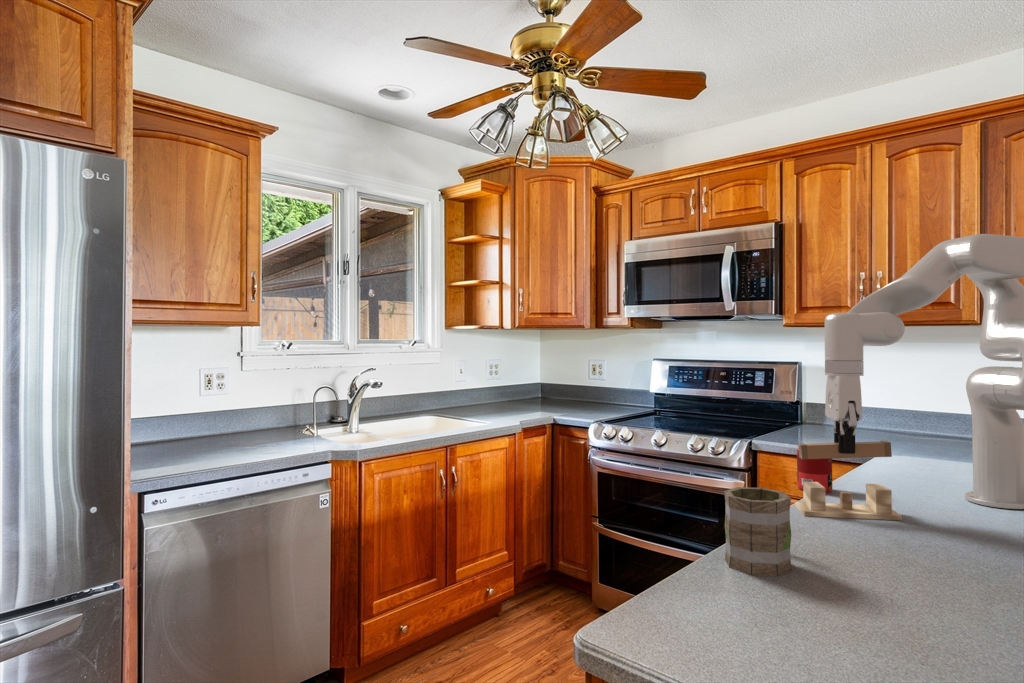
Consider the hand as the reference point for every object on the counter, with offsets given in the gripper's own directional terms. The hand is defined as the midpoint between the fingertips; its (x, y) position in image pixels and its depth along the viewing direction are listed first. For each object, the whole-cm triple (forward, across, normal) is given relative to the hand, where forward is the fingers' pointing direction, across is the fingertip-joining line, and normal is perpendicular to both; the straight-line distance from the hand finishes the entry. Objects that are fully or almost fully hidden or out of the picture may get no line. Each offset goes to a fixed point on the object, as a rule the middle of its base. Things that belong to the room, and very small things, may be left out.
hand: (844, 451), depth 133 cm
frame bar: (+1, 0, 0) cm, 1 cm away
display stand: (+14, 0, 0) cm, 14 cm away
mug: (+14, +34, -24) cm, 44 cm away
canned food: (+14, -21, -1) cm, 25 cm away
